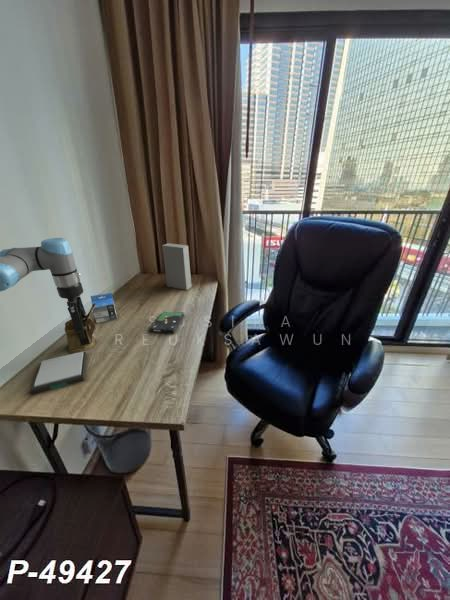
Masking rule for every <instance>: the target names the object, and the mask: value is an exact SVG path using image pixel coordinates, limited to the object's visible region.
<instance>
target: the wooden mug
mask: <svg viewBox="0 0 450 600" xmlns="http://www.w3.org/2000/svg"><path fill="white" fill-rule="evenodd" d="M95 306H96V304H95V303H94V304H93V306H92V305H91V307H90V310H89V311H88V313H87V314H86V315H87V316H86V318H84V319H82V321H83V325H84V328H85V329H86V332H87V335H88V338H89V341H90V344H87V345H81V342H80V339H79V336H78V333H76V332H74V330H75V329H74V326H73V322H72V319H71V318H70V319H69V320H67V321H66V322H65V323H64V333H65V334H66V340H67V351H68V352H70V353H71V354H74V353H78V352H86V351H88V350H90V349H91V348H92V347H93V346H94V345H95V343H96V342H95V339H94V337H93V336H94V332H95V330H96V322H95V321H94V320H93V318H92V317H91V315H92V314H93V310H94V308H95ZM87 325H89V328H90V330H87Z"/></svg>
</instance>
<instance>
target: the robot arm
mask: <svg viewBox="0 0 450 600" xmlns="http://www.w3.org/2000/svg"><path fill="white" fill-rule="evenodd" d="M48 270H49V271H50V274H51V276H52V280H53V283H54V285H55V287H56V291H57V294H58V296H59V298H61V299H66V300H67V301H66V305H67V311H68V313H69V316H70V320H71V319H72V322H73V326H74V329H75V330H74V332H76V333H78V336H79V339H80V342H81V345H87V344H90V341H89V338H88V335H87V332H86V329H85V328H84V325H83V321H82V319H84V318H86V316H87V315H88V314H87V313H86V310H85V309H86V308H85V306H84V304H83V301H82V297H81V295H82V294H83V293H84V288H83V285H82V282H81V278H80V276H81V273H80V272H78V268H77V265H76V261H75V258H74V255H73V250H72V248H71V245H70V243H69V240H68V239H66V238H64V237H53V238H46V239H44V240H42V241H41V242H40V246H29V247H27V246H26V247H11V248H5V249H2V250H1V251H0V292H4V291H6V290H8V289H10V288H12V287H14V286H15V285H17V283H18V282H20V281H21V280H22V279H23V278H26V277H27V276H28V275H30V273H32V272H37V271H38V272H39V271H48ZM90 328H91V327H90V325H87V330H90Z"/></svg>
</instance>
